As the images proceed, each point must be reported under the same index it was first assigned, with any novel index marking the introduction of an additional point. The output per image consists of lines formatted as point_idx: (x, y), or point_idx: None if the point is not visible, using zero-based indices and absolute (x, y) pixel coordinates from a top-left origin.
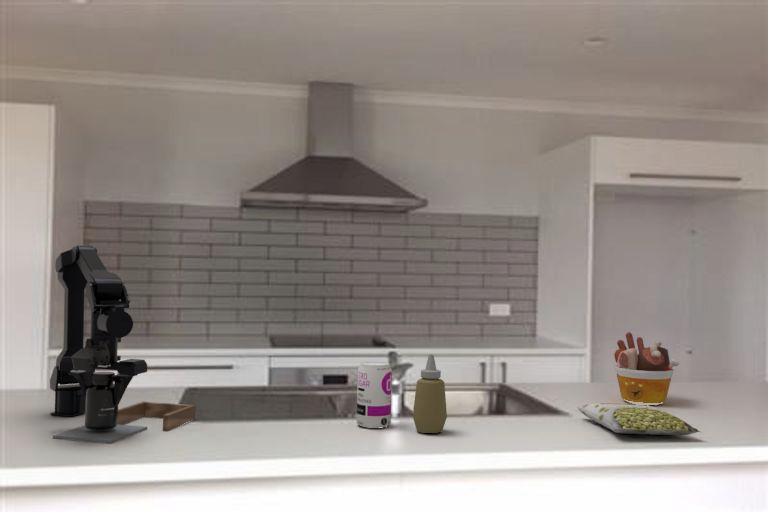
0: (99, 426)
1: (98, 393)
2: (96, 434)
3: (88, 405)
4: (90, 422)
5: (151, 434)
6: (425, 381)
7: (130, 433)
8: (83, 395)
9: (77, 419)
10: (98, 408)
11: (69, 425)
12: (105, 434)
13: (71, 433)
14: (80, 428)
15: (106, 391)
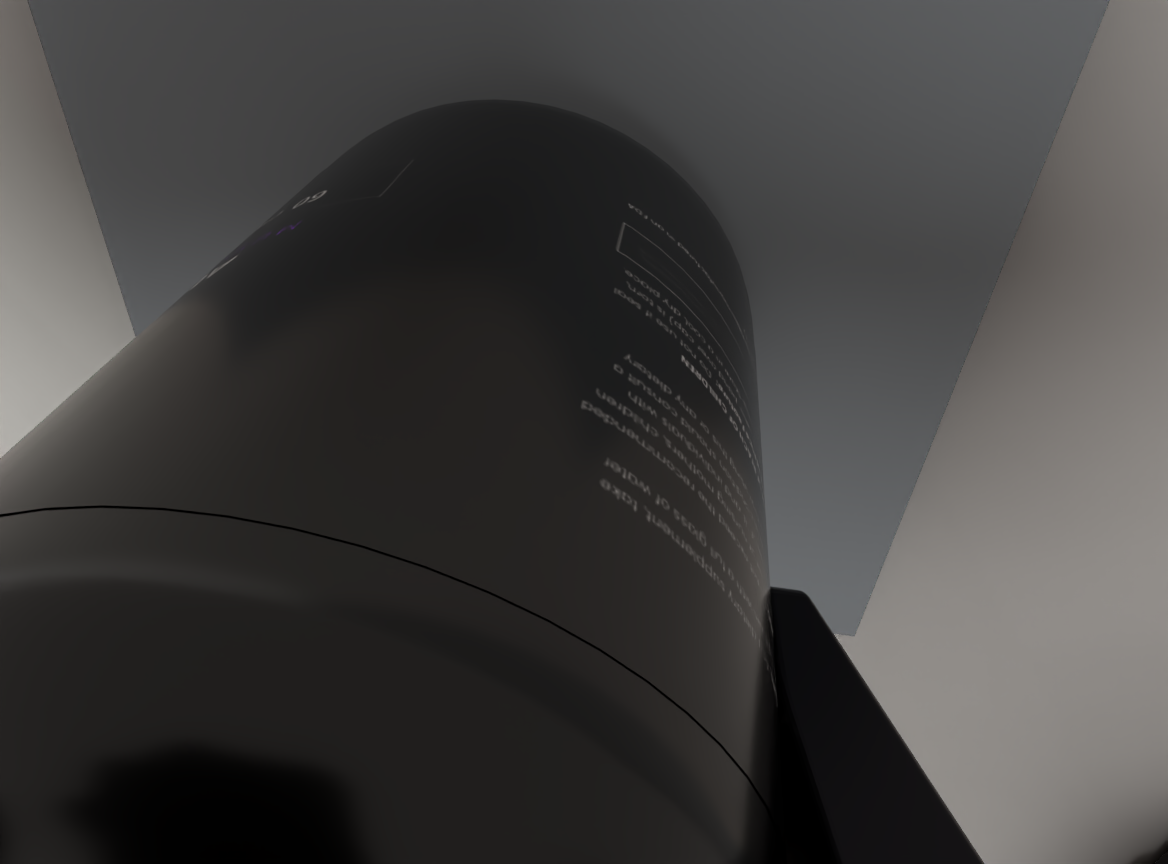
0: (382, 130)
1: (7, 534)
2: (459, 81)
3: (544, 310)
4: (531, 133)
5: (9, 366)
6: None
7: (118, 267)
8: (897, 734)
9: (1111, 767)
10: (263, 257)
11: (1127, 576)
12: (339, 116)
13: (887, 43)
14: (880, 371)
15: None
